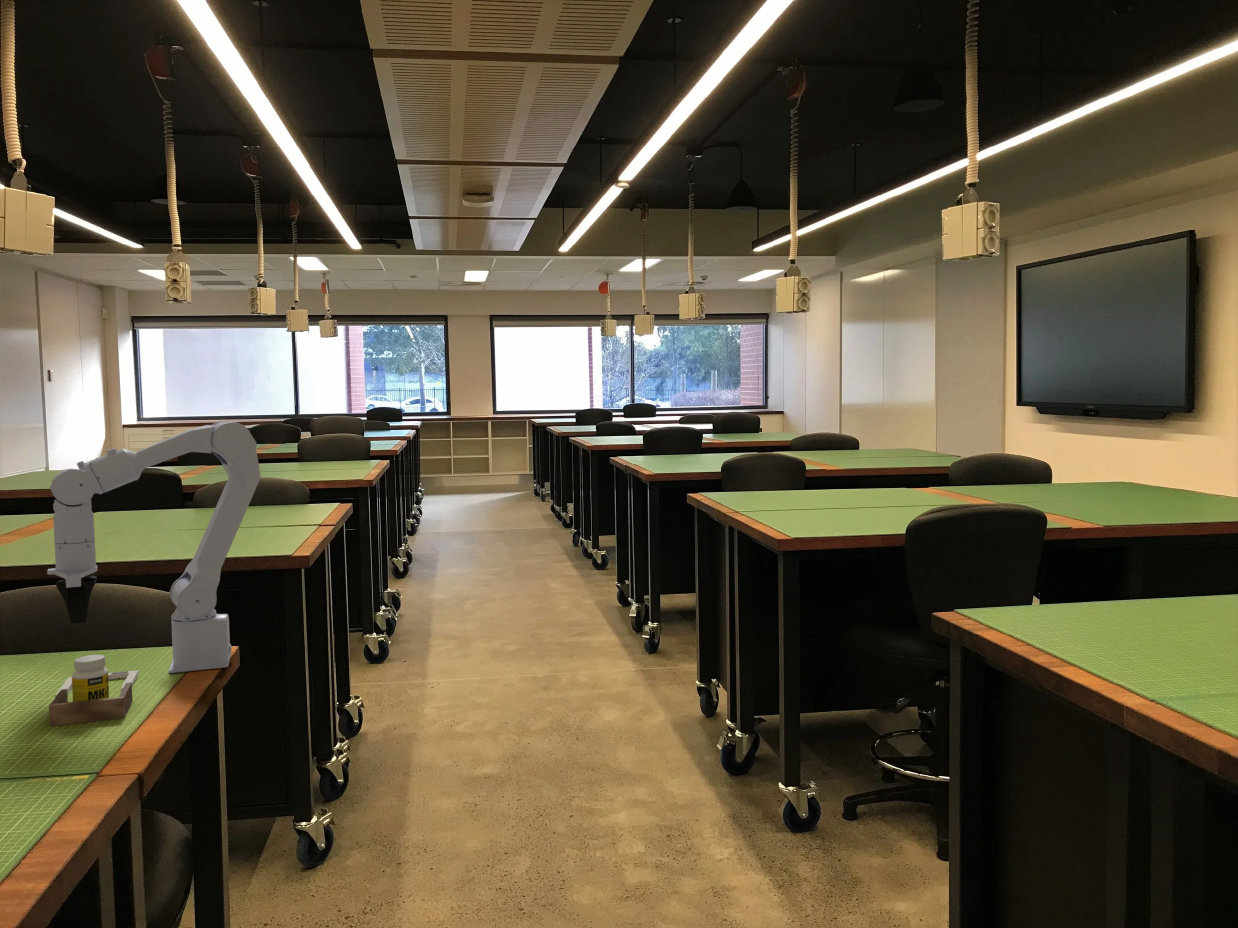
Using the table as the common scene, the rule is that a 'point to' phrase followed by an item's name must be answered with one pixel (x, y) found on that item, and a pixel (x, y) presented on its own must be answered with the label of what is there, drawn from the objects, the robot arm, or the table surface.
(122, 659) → the table surface
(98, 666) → the supplement bottle
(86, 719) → the holder
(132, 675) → the dock
